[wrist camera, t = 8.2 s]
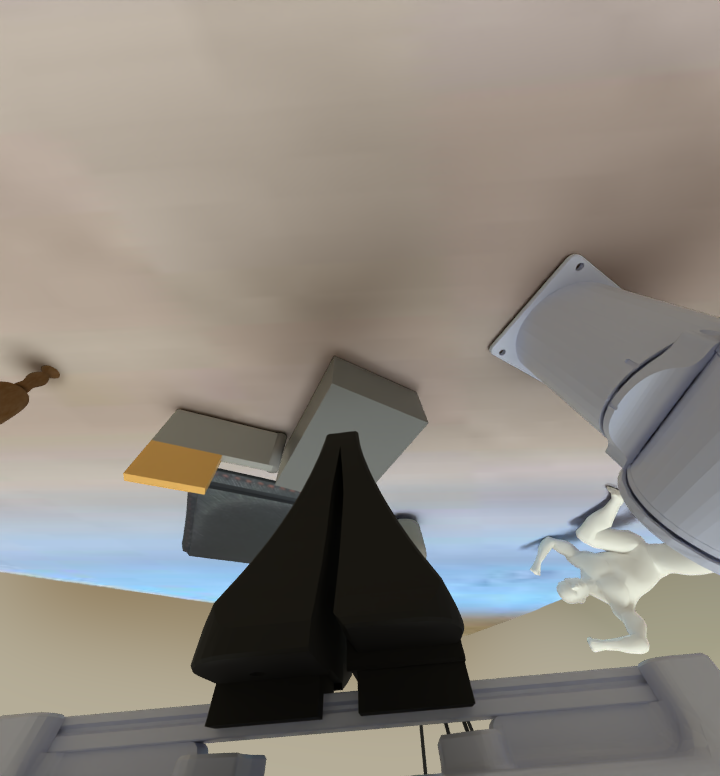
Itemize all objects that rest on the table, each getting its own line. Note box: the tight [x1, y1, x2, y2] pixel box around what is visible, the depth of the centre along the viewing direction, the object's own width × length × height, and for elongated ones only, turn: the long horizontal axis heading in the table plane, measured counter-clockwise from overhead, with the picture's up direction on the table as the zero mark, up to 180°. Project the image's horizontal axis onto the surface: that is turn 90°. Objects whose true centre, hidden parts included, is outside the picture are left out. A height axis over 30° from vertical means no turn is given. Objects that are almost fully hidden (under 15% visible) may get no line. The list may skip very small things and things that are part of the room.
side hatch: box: [123, 409, 287, 495], centre depth 21 cm, size 1×10×7 cm, turn 68°
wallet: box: [182, 468, 300, 563], centre depth 34 cm, size 20×2×15 cm
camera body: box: [275, 356, 428, 492], centre depth 23 cm, size 8×13×4 cm, turn 152°
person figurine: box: [530, 486, 713, 654], centre depth 34 cm, size 13×13×18 cm
